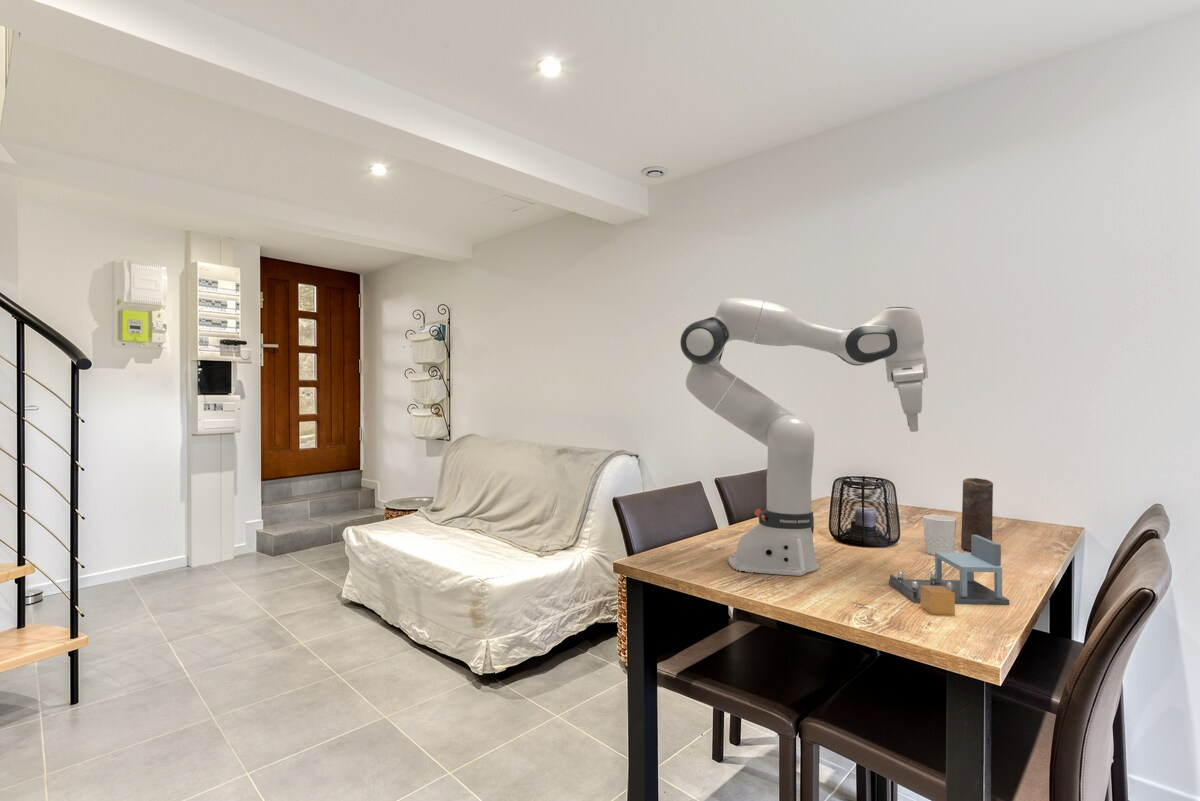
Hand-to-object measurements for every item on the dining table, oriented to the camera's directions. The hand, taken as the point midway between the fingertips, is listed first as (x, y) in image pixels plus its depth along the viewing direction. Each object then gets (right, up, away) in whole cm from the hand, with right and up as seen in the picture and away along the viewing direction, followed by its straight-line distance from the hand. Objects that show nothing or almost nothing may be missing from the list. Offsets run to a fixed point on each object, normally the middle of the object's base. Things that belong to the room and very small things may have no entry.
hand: (913, 429), depth 142 cm
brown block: (-8, -36, -24) cm, 44 cm away
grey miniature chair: (+5, -34, -14) cm, 37 cm away
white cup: (+17, -36, +19) cm, 44 cm away
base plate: (0, -36, -14) cm, 38 cm away
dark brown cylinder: (+30, -36, +22) cm, 51 cm away
